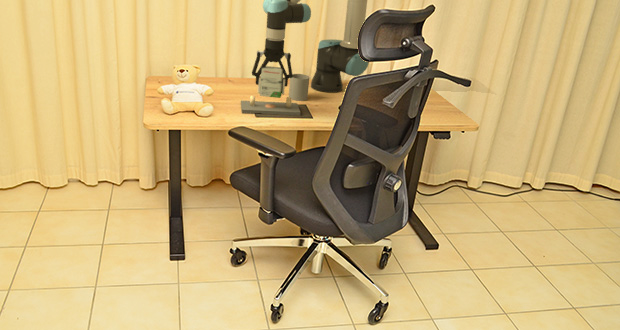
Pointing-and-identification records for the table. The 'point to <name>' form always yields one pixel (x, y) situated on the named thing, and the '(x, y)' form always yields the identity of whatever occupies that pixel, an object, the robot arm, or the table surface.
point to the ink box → (271, 82)
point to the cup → (299, 87)
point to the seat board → (270, 107)
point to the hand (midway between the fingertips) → (270, 92)
